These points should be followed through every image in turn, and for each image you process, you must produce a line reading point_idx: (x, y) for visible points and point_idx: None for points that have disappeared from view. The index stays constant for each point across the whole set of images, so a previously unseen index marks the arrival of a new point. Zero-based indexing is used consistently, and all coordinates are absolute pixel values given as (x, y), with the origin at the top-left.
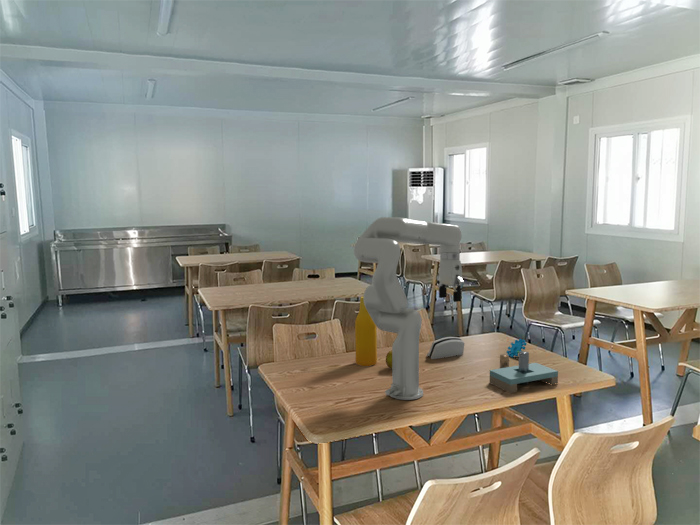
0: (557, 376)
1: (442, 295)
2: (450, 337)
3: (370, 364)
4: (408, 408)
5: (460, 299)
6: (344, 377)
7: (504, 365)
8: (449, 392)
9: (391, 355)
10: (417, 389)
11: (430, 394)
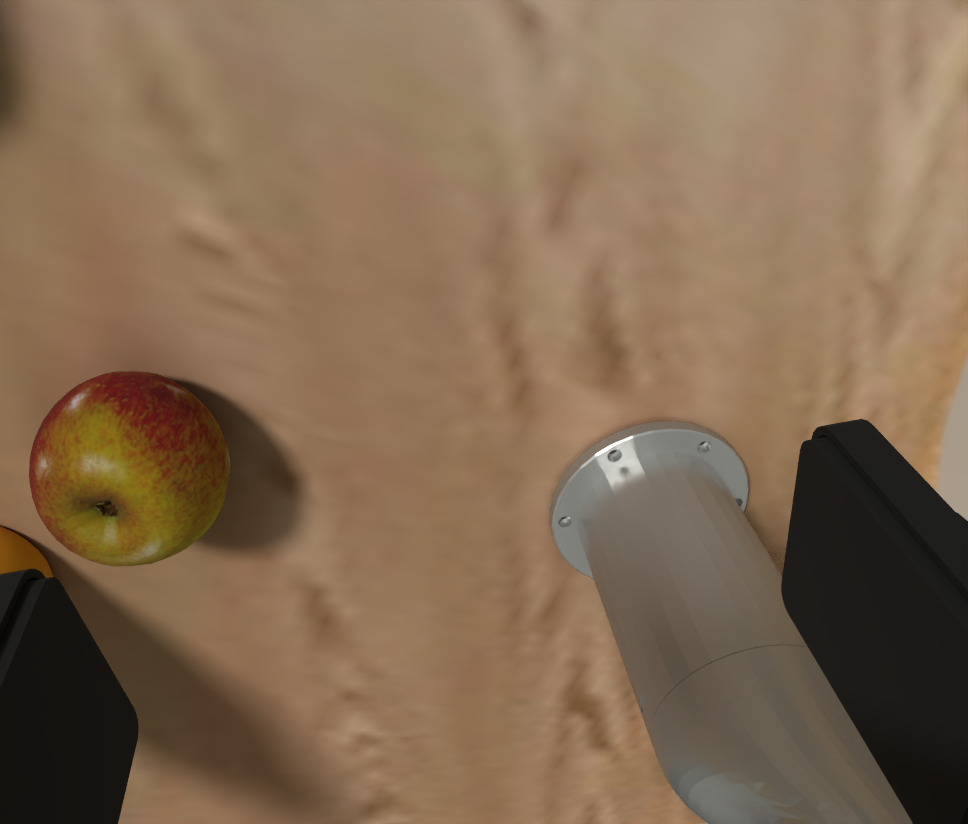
0: None
1: (96, 729)
2: None
3: (49, 572)
4: None
5: (883, 452)
6: (263, 699)
7: None
8: (748, 268)
9: (177, 551)
10: (725, 485)
11: (715, 385)
